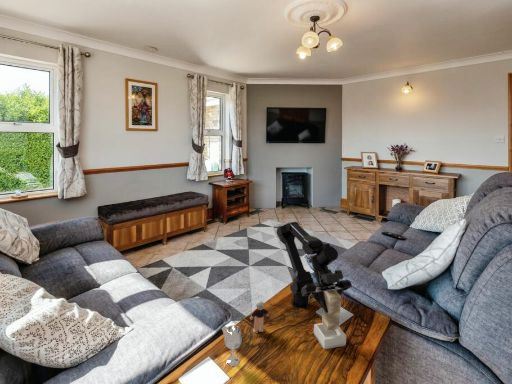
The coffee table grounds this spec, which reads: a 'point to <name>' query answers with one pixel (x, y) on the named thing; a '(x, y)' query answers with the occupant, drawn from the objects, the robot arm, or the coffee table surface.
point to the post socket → (329, 336)
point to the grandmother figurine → (259, 317)
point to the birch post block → (332, 310)
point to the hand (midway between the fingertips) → (333, 311)
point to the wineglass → (233, 343)
